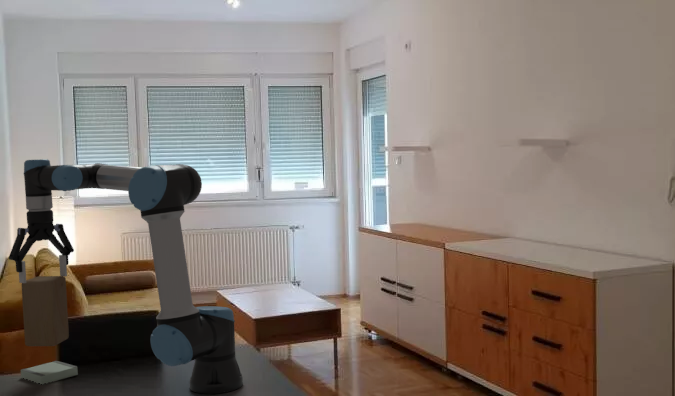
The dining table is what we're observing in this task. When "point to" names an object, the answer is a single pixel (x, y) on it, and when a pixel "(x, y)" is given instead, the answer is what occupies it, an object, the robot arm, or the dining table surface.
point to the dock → (49, 372)
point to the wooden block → (45, 311)
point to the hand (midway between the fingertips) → (43, 279)
